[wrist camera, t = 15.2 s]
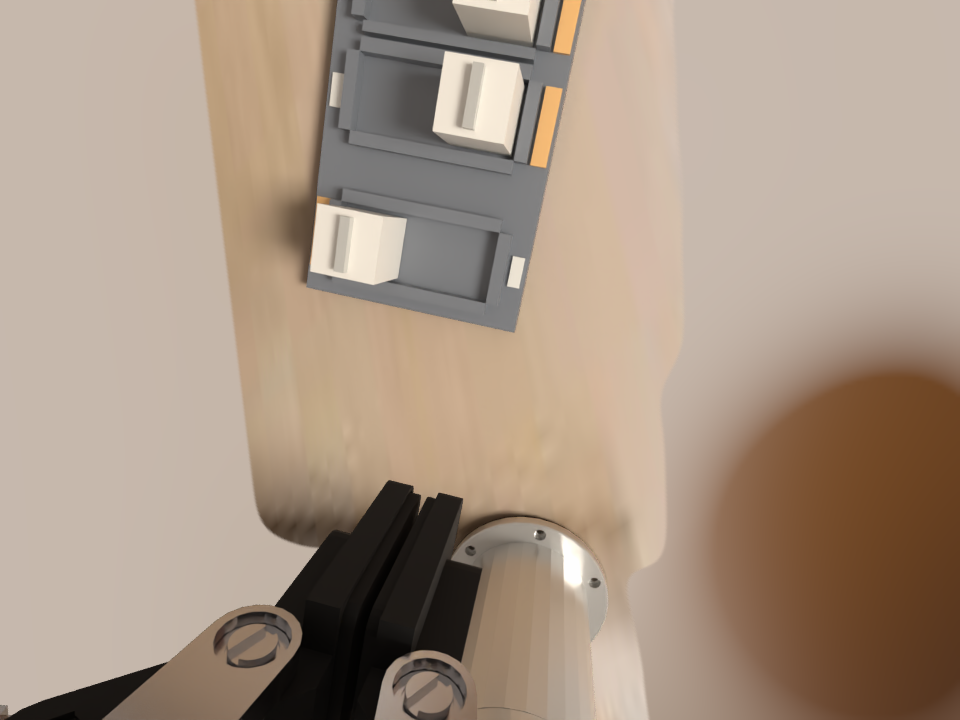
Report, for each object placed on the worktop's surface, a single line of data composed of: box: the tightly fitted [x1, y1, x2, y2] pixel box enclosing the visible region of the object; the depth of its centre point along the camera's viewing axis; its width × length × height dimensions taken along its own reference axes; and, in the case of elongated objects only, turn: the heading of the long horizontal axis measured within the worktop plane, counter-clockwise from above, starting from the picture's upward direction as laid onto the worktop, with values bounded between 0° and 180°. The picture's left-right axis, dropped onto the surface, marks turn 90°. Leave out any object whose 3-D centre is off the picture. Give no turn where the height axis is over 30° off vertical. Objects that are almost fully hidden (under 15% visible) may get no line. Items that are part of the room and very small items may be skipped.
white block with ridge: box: [432, 51, 525, 157], centre depth 31 cm, size 4×4×6 cm
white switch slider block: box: [310, 203, 407, 285], centre depth 34 cm, size 4×4×6 cm
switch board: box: [307, 0, 586, 332], centre depth 32 cm, size 22×15×7 cm
